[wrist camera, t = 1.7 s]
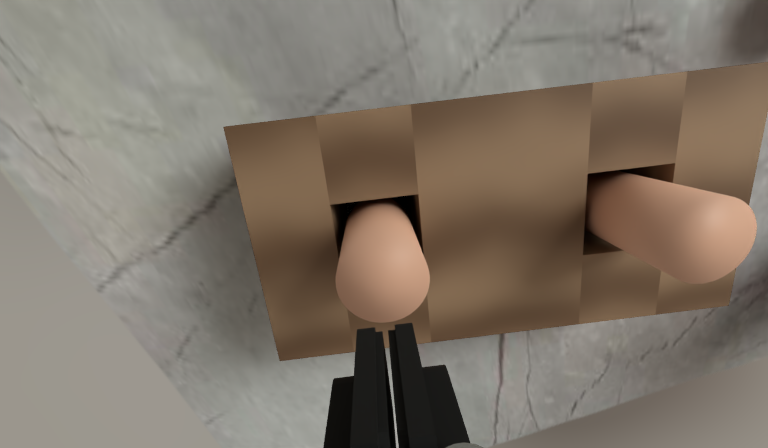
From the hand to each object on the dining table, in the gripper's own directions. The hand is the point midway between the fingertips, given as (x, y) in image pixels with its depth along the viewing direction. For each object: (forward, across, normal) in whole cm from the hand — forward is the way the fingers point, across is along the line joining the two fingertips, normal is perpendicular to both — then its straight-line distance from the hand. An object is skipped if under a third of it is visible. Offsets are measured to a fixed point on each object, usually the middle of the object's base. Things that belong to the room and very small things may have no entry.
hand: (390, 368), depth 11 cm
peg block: (+18, -7, -1) cm, 19 cm away
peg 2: (+12, -14, -1) cm, 19 cm away
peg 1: (+12, 0, -1) cm, 12 cm away
